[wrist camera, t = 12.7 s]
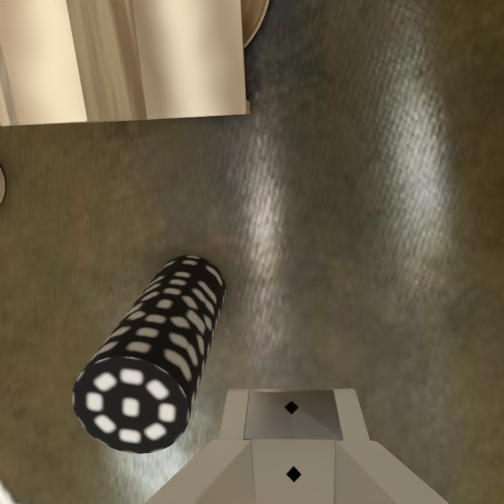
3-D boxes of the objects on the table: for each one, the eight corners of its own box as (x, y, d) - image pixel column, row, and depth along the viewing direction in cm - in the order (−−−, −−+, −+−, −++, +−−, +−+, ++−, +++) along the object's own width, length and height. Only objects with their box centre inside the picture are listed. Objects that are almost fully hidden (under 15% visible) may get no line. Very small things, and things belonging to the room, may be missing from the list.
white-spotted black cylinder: (157, 250, 45) (70, 347, 26) (229, 260, 45) (193, 365, 26) (154, 314, 48) (73, 444, 29) (222, 324, 48) (185, 461, 29)
